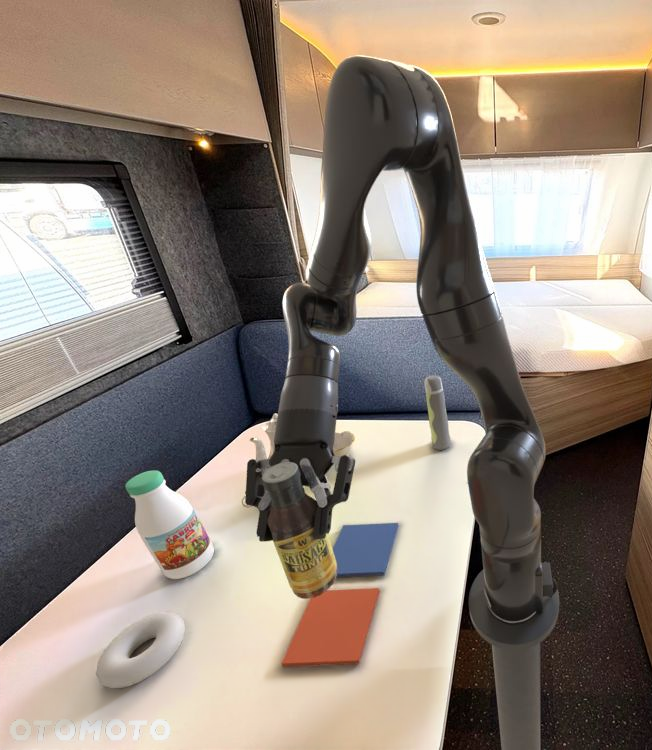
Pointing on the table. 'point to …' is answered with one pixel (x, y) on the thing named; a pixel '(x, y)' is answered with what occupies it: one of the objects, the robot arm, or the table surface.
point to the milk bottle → (169, 526)
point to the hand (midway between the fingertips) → (293, 539)
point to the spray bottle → (437, 413)
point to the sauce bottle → (298, 533)
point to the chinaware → (340, 446)
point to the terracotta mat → (333, 628)
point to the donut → (127, 671)
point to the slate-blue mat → (364, 549)
